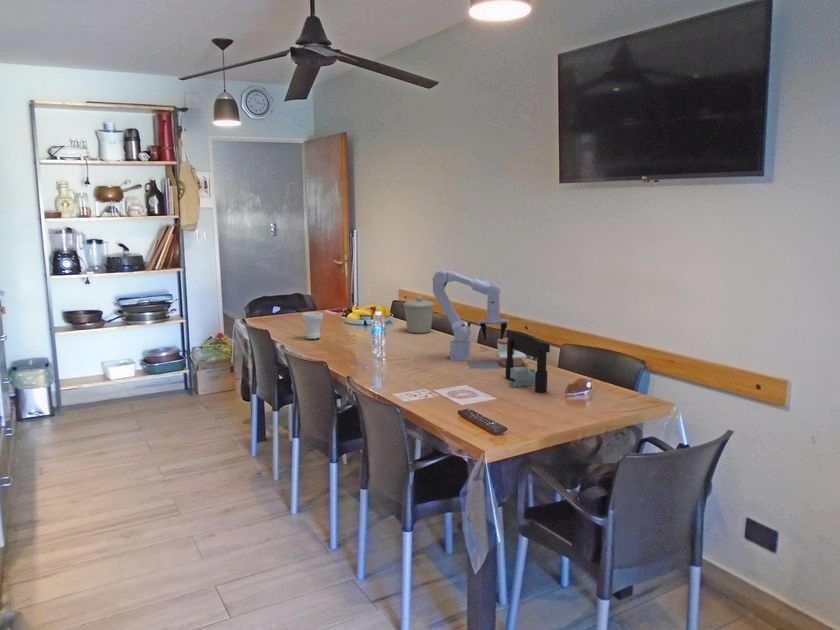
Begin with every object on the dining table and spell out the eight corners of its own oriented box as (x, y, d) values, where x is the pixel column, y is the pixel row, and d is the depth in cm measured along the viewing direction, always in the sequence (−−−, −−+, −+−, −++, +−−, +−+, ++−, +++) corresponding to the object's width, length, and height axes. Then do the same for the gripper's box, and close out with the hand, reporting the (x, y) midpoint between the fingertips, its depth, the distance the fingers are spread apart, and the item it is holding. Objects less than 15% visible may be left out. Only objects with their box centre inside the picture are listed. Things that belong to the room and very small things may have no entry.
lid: (500, 358, 296) (500, 347, 296) (497, 352, 308) (497, 341, 307) (527, 358, 296) (527, 347, 296) (522, 352, 308) (522, 341, 307)
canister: (441, 331, 381) (441, 295, 378) (419, 336, 368) (419, 299, 365) (418, 327, 393) (418, 292, 390) (396, 332, 380) (396, 295, 377)
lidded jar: (518, 358, 316) (518, 339, 314) (495, 357, 318) (496, 338, 316) (519, 353, 326) (520, 335, 324) (497, 352, 328) (498, 334, 327)
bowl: (503, 367, 299) (503, 357, 298) (500, 362, 308) (500, 353, 307) (522, 367, 299) (523, 357, 298) (519, 362, 308) (519, 353, 307)
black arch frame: (522, 325, 285) (566, 340, 255) (521, 373, 289) (564, 393, 258) (490, 328, 279) (531, 343, 249) (489, 376, 283) (530, 397, 253)
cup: (306, 336, 367) (305, 311, 364) (326, 337, 365) (325, 312, 363) (300, 340, 356) (299, 315, 353) (320, 341, 354) (319, 315, 352)
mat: (469, 369, 295) (469, 368, 295) (467, 361, 309) (467, 361, 309) (500, 369, 295) (500, 368, 295) (496, 361, 309) (496, 361, 309)
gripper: (478, 312, 303) (478, 341, 305) (510, 311, 303) (510, 340, 305) (477, 309, 310) (477, 338, 312) (508, 309, 310) (507, 337, 312)
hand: (493, 339), depth 309 cm, fingers open, 7 cm apart
